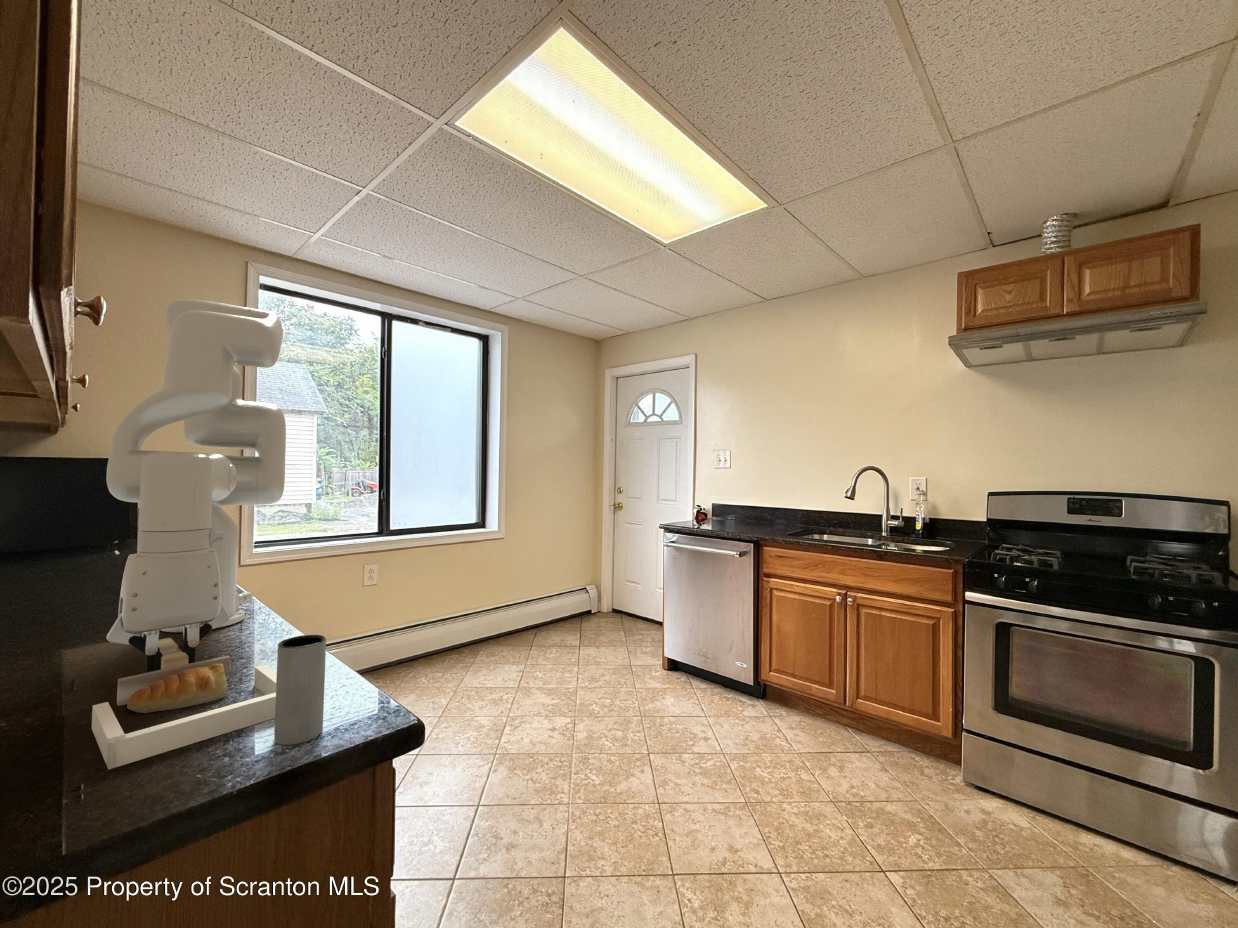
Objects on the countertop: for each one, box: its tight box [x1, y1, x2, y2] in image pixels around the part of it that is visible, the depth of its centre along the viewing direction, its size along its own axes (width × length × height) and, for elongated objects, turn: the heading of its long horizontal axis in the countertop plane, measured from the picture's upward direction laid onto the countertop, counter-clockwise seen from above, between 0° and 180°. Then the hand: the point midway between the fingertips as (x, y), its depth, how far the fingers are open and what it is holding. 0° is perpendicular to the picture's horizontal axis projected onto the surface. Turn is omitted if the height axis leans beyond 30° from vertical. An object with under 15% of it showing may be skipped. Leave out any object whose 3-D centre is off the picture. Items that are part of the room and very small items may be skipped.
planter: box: [273, 634, 327, 746], centre depth 56 cm, size 4×4×10 cm
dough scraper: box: [116, 637, 231, 707], centre depth 70 cm, size 12×11×4 cm
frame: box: [91, 664, 277, 770], centre depth 59 cm, size 12×16×2 cm
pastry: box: [126, 663, 228, 714], centre depth 63 cm, size 9×7×4 cm
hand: (169, 677), depth 69 cm, fingers closed on dough scraper, 2 cm apart
